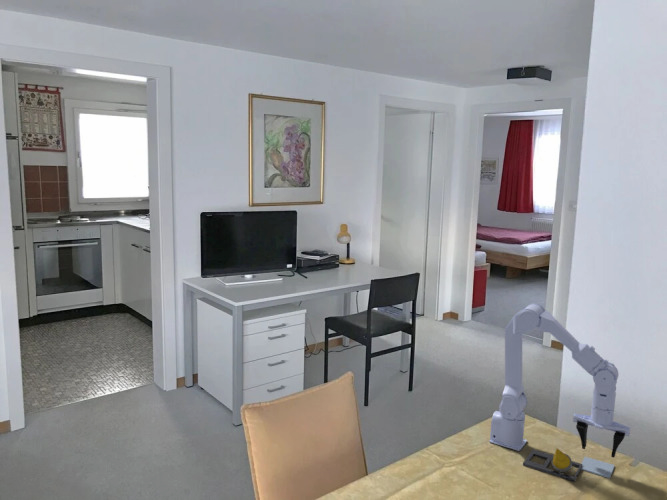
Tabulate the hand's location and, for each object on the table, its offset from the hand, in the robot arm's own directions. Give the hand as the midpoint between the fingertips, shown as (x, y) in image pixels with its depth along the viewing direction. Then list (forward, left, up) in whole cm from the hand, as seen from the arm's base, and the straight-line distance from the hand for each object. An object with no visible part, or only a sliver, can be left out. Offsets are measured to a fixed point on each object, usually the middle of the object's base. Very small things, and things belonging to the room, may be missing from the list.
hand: (598, 451), depth 159 cm
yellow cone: (-7, -7, -5) cm, 11 cm away
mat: (0, 0, -5) cm, 5 cm away
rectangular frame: (-10, -7, -5) cm, 14 cm away
